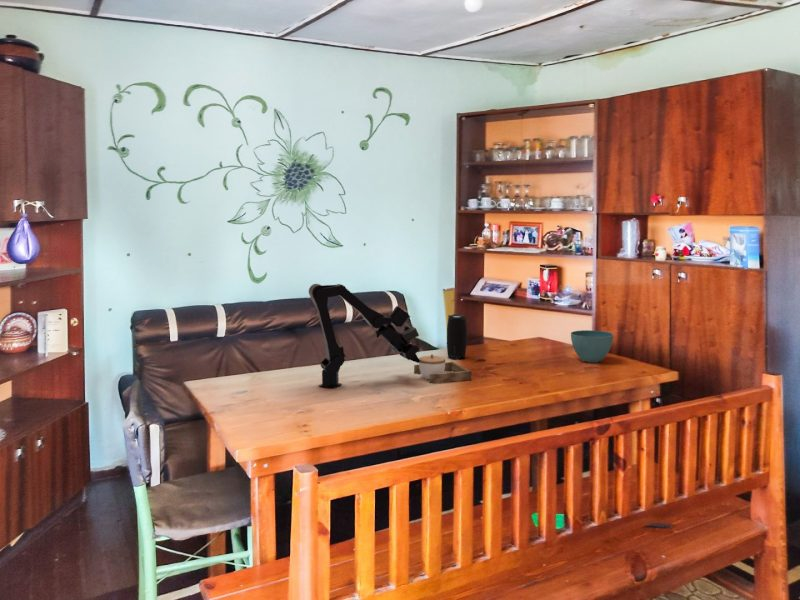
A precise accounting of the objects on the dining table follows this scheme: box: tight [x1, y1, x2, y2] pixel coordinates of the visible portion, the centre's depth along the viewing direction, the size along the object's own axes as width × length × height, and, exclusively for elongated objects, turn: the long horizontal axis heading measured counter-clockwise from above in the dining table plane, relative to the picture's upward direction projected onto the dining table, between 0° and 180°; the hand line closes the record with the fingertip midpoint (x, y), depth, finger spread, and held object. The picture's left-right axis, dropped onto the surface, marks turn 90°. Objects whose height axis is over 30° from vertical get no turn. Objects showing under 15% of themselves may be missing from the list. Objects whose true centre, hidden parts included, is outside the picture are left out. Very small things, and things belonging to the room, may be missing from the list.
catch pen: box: [413, 361, 472, 384], centre depth 288 cm, size 17×18×4 cm
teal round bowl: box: [570, 329, 614, 363], centre depth 317 cm, size 18×18×12 cm
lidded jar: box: [418, 353, 446, 380], centre depth 286 cm, size 11×11×9 cm
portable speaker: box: [446, 313, 468, 361], centre depth 322 cm, size 9×9×20 cm
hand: (418, 361), depth 284 cm, fingers closed, pressing on lidded jar
